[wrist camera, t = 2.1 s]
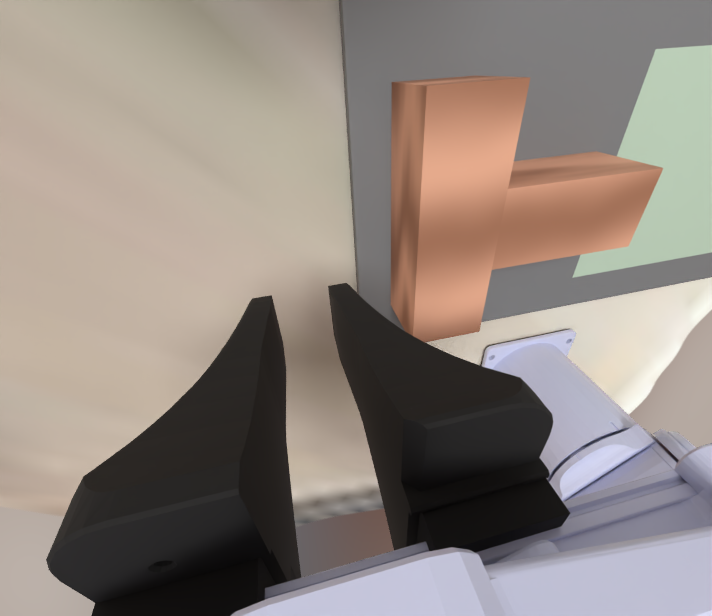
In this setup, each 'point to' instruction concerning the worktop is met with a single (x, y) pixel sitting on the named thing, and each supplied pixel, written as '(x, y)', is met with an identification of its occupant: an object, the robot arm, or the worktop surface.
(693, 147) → the mat
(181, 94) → the worktop surface
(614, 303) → the worktop surface
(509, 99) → the t block
